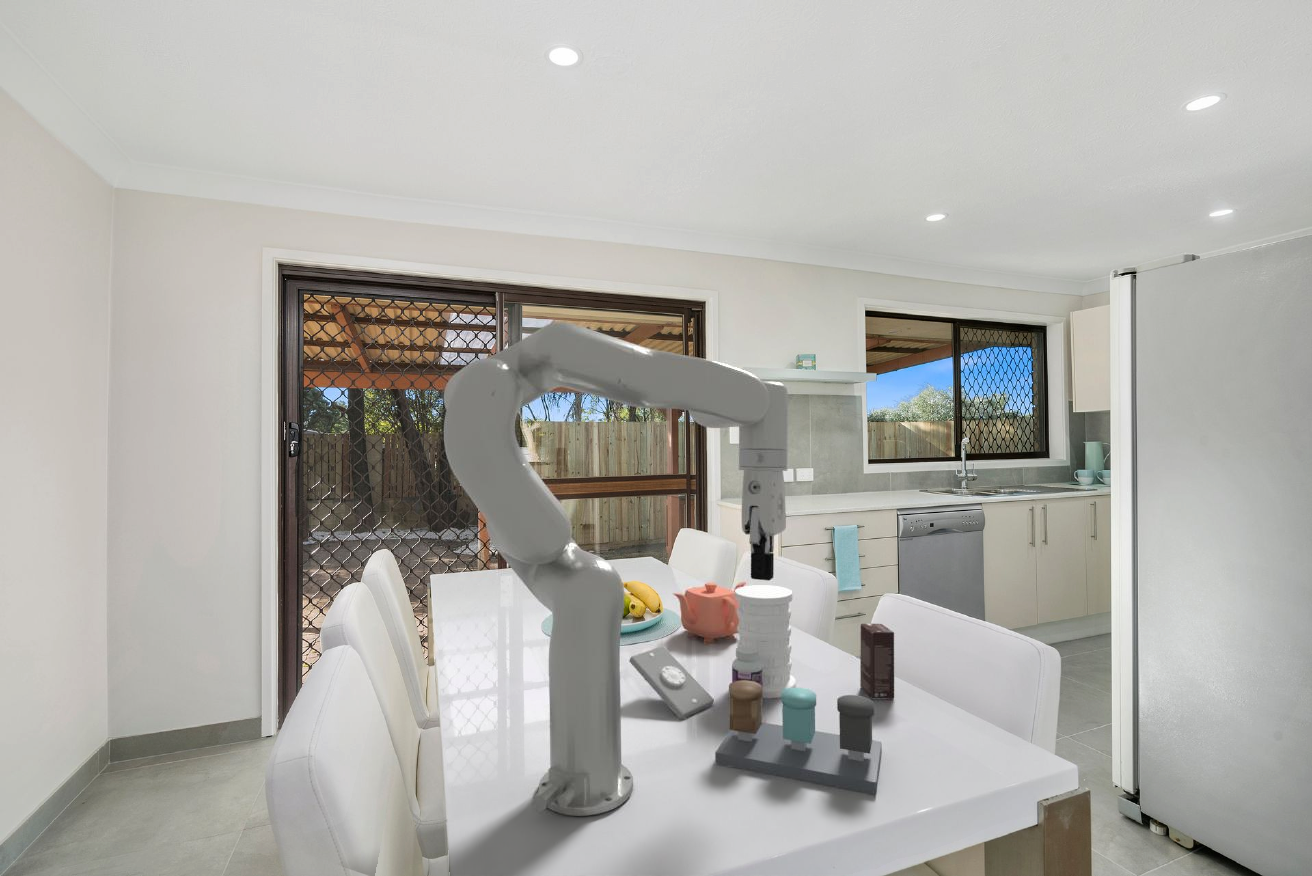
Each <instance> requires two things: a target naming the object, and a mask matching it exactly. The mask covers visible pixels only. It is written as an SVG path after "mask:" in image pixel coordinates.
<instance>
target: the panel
mask: <svg viewBox="0 0 1312 876" xmlns="http://www.w3.org/2000/svg"><path fill="white" fill-rule="evenodd" d="M882 747H883V746H882V741H879V740H873V739H872V745H871V751H870V754H869V753H863V752H857V751H851V750H845V749H840V734H836V733H830V732H829V733H828V732H824V731H823V732H822V731H817V730H815V734H814V737H813V739H812V742H811V744H810V743H804V742H798V741H792V740H786V739H783V724H782V725H780V724H774V723H769V722H763V721H762V724H761V726H760V728H759V729H758V731H757V733H756V734H752V733H746V732H740V731H734V730H730V729H729V731H728V733H727V734H726V735H725V737H724V739H722V741H721V743H720V745H719V746H718V747H717V749H716V751H715V752H714V753H715V756H714V757H715V761H714V762H715V764H717V765H722V766H727V767H732V768H738V769H742V770H746V771H752V772H758V773H764V774H768V775H774V776H779V777H783V778H790V779H794V780H800V781H804V782H810V783H815V784H819V785H820V784H821V785H823V786H824V785H825V786H828V787H829V786H830V787H834V788H835V787H836V788H840V789H845V790H851V791H856V792H861V793H866V794H870V795H877V792H878V791H877V790H878V784H879V776H880V768H881V761H882V752H883V751H882V750H883V749H882Z"/></svg>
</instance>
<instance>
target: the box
mask: <svg viewBox="0 0 1312 876" xmlns="http://www.w3.org/2000/svg"><path fill="white" fill-rule="evenodd" d="M859 663H860V667H859V668H860V676H859V677H860V682H859V683H860V686H859V687H860V688H861V689H862V690H863V691H864V692H865V693H866V694H867V695H868V696H869V697H870V698H871V699H872V700H874V701H875V700H891V699H895V632H894V631H893V630H891V629H890V628H888V627H887V626H885V625H884V624H882V623H861V624H860V661H859Z"/></svg>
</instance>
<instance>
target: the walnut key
mask: <svg viewBox="0 0 1312 876" xmlns="http://www.w3.org/2000/svg"><path fill="white" fill-rule="evenodd" d="M728 695H729V697H728V701H729V702H728V706H729V707H728V713H729V715H728V716H729V722H728V723H729V731H730V730H734V731H740V732H746V733H752V734H756V733H757V731H758V729H759V728H760V726H761V724H762V722H763V702H762V686H761V685H760V684H759V683H757V682H753V681H746V680H741V681H735V682H732V681H731V683H729V685H728Z"/></svg>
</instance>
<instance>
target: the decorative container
mask: <svg viewBox="0 0 1312 876" xmlns="http://www.w3.org/2000/svg"><path fill="white" fill-rule="evenodd" d="M735 599H736V600H737V601H739V607H738V609H737V615H738V618H739V624H738V627H737V631H738V633H737V634H738V637H739V638H738V641H737V645H736V646H737V647H736V648H738V647H741V646H751V647H755V648H757V649H758V653H759V657H758V660H759V661H760V662H761V663H762V679H763V699H779V698H781V692H782V691H783V690H784V689H787V688H797V680H796V679H795V677H794V676H793V675H792V674H791V670H792V666H793V664H792V659H791V657H790V655H791V652H792V644H791V642H790V637H791V634H792V627H791V625H790V619H791V615H792V612H791V609H790V608H789V607H790V605H789V604H790V603H791V602H792V601H793V590H791V589H789V588H787V587H783V586H778V585H770V584H767V585H766V584H755V585H754V584H753V585H744V586H743V587H740V588H737V589H736V590H735Z"/></svg>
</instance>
